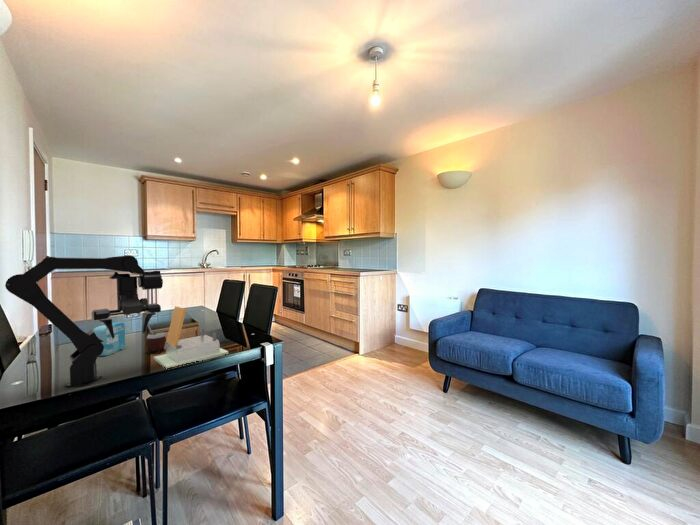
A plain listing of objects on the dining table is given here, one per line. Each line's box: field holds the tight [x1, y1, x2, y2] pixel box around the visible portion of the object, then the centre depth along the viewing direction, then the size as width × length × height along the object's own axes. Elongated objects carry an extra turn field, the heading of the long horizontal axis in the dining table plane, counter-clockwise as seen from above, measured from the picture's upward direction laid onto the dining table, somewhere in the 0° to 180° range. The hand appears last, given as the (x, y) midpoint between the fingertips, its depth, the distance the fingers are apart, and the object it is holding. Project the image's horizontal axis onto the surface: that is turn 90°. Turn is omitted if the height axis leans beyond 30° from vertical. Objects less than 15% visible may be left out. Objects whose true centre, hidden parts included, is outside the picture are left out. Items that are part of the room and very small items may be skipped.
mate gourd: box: [139, 317, 167, 355], centre depth 124 cm, size 8×8×15 cm
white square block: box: [165, 327, 221, 363], centre depth 117 cm, size 15×15×8 cm
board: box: [153, 347, 229, 370], centre depth 117 cm, size 22×17×1 cm
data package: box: [92, 321, 126, 357], centre depth 126 cm, size 12×4×12 cm, turn 4°
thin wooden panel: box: [165, 306, 187, 347], centre depth 113 cm, size 14×11×1 cm
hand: (128, 335), depth 103 cm, fingers open, 8 cm apart
